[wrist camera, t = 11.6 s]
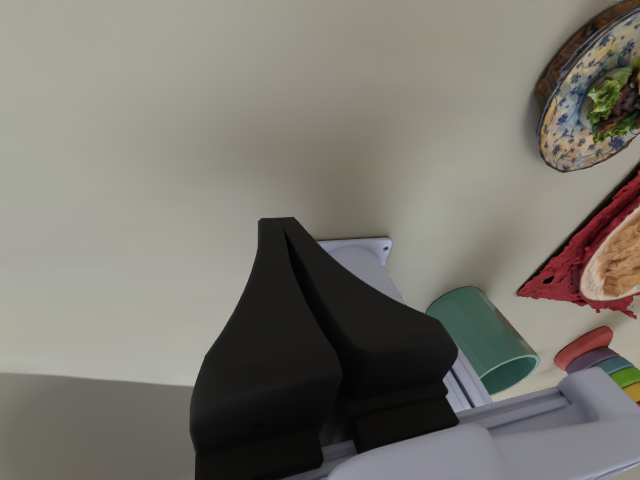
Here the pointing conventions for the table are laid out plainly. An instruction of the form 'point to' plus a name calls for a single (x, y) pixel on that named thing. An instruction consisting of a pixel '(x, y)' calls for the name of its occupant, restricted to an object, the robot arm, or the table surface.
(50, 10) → the table surface
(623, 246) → the plate with food
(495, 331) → the green cup
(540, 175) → the table surface
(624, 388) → the stacking bear
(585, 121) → the burger
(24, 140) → the table surface
